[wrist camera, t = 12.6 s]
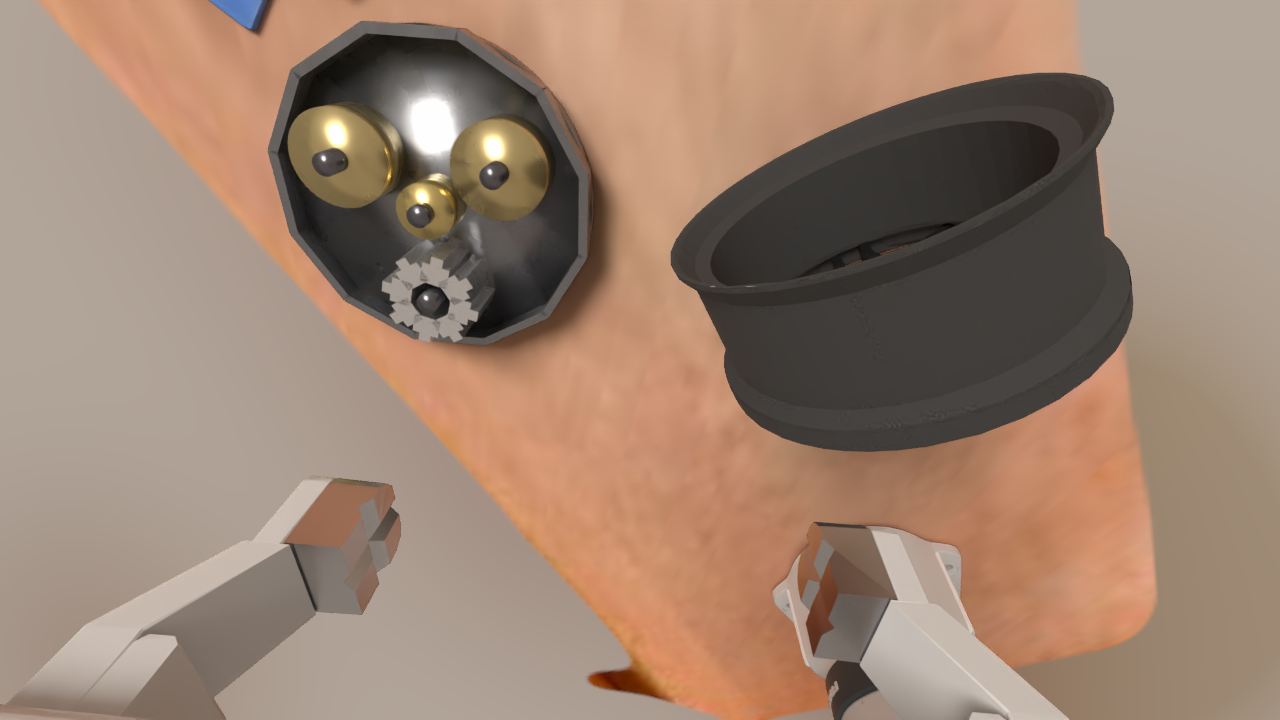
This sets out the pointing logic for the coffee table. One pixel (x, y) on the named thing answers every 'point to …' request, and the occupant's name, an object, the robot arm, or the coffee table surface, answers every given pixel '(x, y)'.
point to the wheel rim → (918, 268)
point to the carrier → (432, 170)
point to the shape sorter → (243, 11)
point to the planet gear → (453, 276)
